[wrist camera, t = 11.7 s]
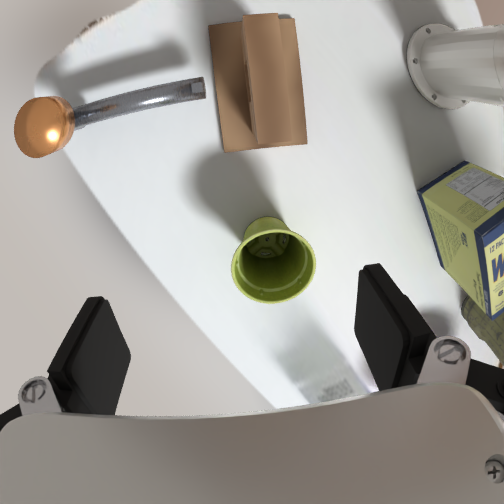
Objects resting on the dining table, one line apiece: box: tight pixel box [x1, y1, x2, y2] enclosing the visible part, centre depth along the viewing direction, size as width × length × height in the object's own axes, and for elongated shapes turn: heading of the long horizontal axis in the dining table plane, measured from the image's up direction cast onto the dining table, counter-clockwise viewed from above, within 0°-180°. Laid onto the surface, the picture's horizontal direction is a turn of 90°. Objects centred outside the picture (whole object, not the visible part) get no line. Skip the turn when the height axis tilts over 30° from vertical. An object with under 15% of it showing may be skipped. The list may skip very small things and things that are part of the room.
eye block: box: [208, 13, 307, 153], centre depth 29 cm, size 10×16×11 cm, turn 6°
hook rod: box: [14, 77, 206, 158], centre depth 28 cm, size 19×6×10 cm, turn 96°
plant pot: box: [231, 217, 316, 304], centre depth 40 cm, size 9×9×9 cm
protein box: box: [417, 161, 504, 321], centre depth 36 cm, size 10×16×16 cm
